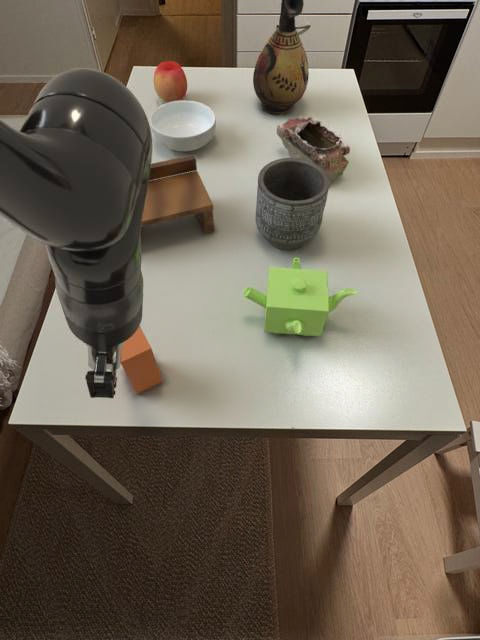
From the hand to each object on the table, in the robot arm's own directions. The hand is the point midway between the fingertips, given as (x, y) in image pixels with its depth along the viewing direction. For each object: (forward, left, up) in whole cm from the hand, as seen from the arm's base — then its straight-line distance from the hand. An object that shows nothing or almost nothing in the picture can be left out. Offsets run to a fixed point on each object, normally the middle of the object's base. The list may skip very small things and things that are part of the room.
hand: (110, 353), depth 53 cm
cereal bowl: (+28, +71, -20) cm, 79 cm away
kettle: (+32, +8, -20) cm, 39 cm away
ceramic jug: (+59, +80, -20) cm, 102 cm away
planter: (+40, +30, -20) cm, 54 cm away
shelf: (+14, +42, -20) cm, 49 cm away
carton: (+2, +6, -20) cm, 21 cm away
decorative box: (+54, +51, -20) cm, 77 cm away
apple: (+30, +92, -20) cm, 99 cm away
